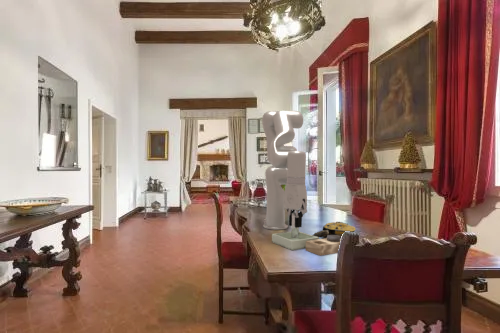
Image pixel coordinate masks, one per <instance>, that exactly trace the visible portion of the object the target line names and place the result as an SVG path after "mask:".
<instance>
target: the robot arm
mask: <svg viewBox="0 0 500 333" xmlns="http://www.w3.org/2000/svg"><path fill="white" fill-rule="evenodd" d="M261 122H262V128H263V133H264V134H265V138H266V151H267V154H266V155H267V156H266V157H267V161H268V163H270V164H271V166H268V167H267V168H266V169H265V171H264V172H265V173H264V174H265V182H266V183H265V185H266V216H265V218H263V220H264V221H265V223H264V224H263V229H267V230H275V231H276V230H277V231H278V230H287V229H288V228H289V226H290V227H292V213H294V212H296V217H295V227H296V228H297V227H299V228H302V226H303V223H302V222H303V218H304V215H305V214H307V213H308V210H307V209H308V207H307V206H308V194H307V193H308V192H307V185H306V171H307V170H306V166H307V162H306V161H307V160H306V159H307V155H306V152H305V151H303V150H298V149H297V148H296V147H294V146H291V145H286V144H289V143H290V142H292V141H293V140H294V139H295V137H296V133H295V130H294V129H296V130H297V129H301V128H302V126H303V124H304V116H303V114H302V112H300V111H298V110H287V109H285V110H284V109H283V110H268V111H266V112H263V114H262V121H261ZM282 185H285V186H284V188H283V187H282ZM286 211H287V215H288V216H289V217H288V224H286Z"/></svg>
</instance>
